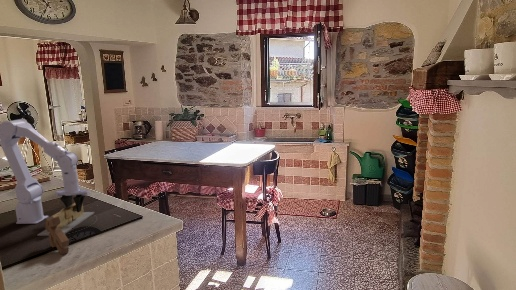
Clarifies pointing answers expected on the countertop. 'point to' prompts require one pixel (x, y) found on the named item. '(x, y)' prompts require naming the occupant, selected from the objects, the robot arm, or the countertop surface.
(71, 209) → the tan block
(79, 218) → the board
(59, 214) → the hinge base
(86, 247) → the countertop surface
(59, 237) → the figurine
